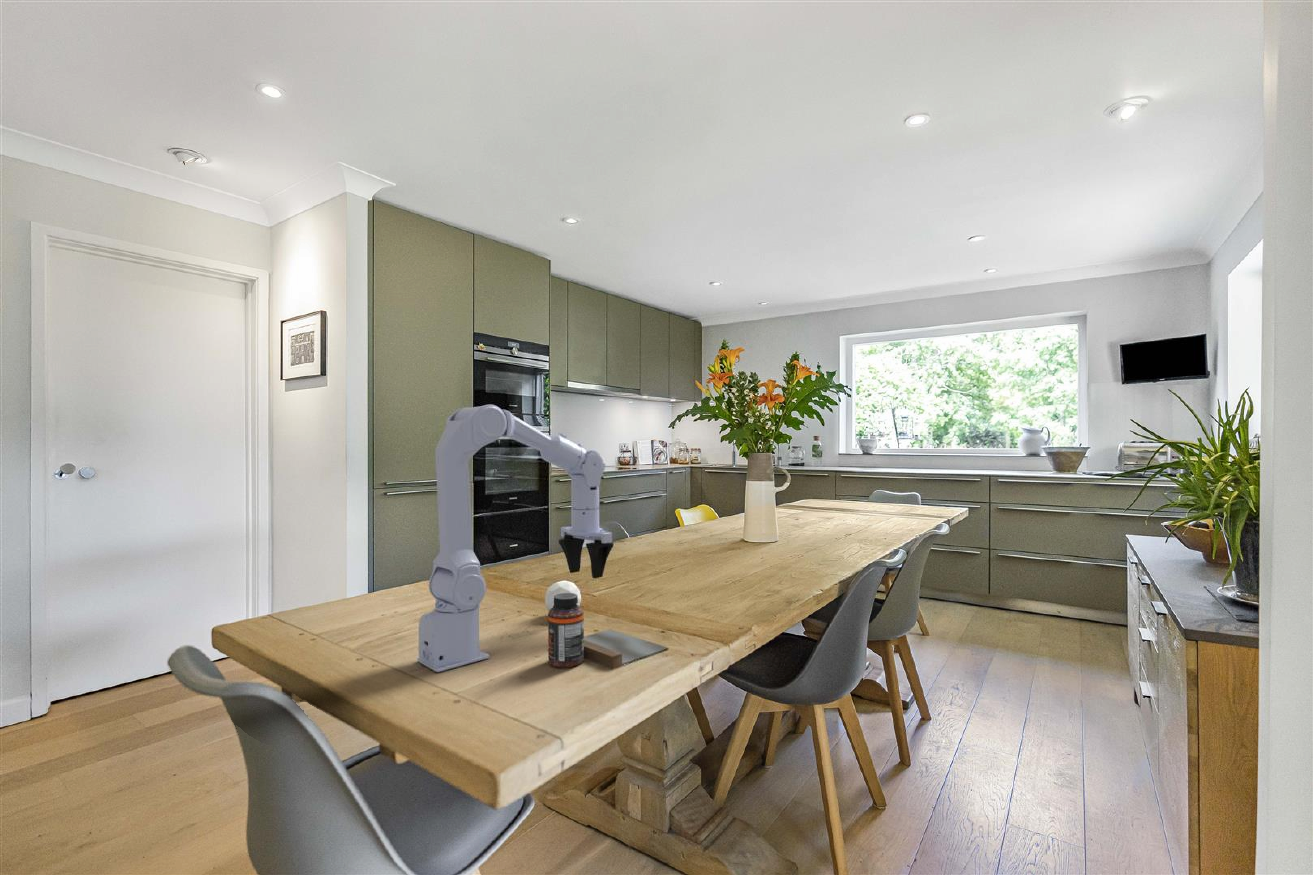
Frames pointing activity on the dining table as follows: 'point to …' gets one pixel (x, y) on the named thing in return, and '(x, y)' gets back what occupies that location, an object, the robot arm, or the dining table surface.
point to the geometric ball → (558, 589)
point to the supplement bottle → (565, 631)
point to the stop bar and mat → (617, 648)
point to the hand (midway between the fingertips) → (585, 574)
